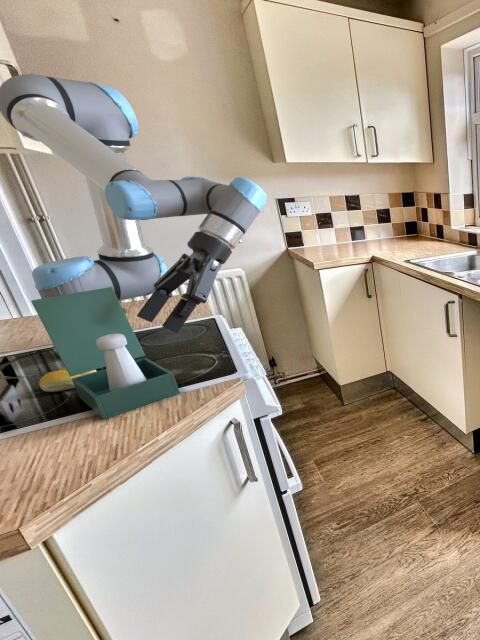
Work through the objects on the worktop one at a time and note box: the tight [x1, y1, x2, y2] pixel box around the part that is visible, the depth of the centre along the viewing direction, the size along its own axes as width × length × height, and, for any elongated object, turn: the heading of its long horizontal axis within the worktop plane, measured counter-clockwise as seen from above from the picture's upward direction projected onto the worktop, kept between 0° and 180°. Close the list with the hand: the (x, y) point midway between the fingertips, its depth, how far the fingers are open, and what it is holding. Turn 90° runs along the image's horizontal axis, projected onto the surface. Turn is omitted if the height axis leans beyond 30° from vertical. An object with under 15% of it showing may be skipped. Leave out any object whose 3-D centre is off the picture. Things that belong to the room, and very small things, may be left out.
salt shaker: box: [96, 334, 146, 391], centre depth 83 cm, size 6×6×13 cm
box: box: [72, 357, 181, 420], centre depth 86 cm, size 15×12×5 cm
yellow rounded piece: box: [38, 365, 98, 393], centre depth 92 cm, size 8×9×4 cm
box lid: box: [30, 287, 146, 377], centre depth 88 cm, size 16×12×1 cm
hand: (156, 324), depth 87 cm, fingers open, 13 cm apart
